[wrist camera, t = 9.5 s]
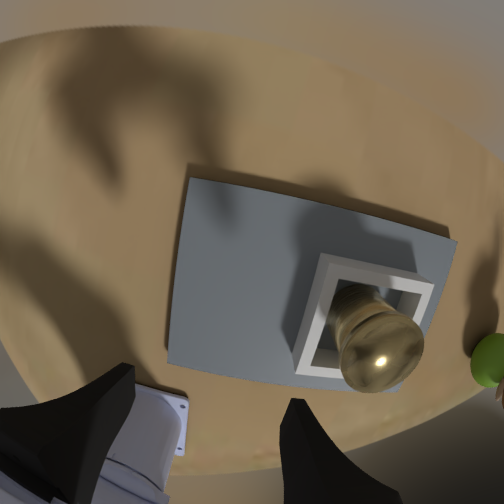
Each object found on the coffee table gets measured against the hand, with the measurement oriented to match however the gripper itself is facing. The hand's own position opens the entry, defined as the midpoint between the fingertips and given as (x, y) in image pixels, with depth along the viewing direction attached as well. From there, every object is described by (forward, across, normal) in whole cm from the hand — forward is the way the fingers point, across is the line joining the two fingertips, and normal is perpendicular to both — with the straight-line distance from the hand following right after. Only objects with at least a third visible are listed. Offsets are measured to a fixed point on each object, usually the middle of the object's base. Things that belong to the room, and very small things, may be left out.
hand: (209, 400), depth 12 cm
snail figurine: (+10, -26, 0) cm, 28 cm away
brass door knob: (+8, -9, -2) cm, 12 cm away
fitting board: (+9, -6, -2) cm, 11 cm away
